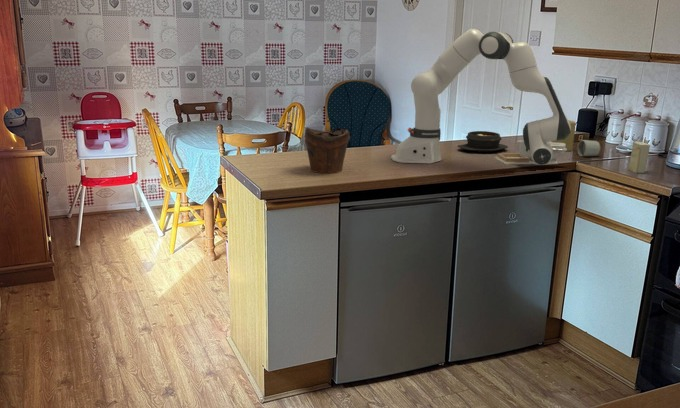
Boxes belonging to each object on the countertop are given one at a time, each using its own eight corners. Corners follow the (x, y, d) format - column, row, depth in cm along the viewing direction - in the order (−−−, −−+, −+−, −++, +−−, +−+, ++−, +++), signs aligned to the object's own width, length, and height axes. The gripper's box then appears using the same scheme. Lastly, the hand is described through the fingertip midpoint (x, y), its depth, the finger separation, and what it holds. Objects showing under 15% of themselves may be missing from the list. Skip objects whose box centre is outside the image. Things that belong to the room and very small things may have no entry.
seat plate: (505, 164, 270) (505, 158, 269) (495, 158, 282) (495, 153, 281) (557, 163, 272) (558, 158, 271) (545, 157, 284) (546, 152, 284)
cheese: (536, 154, 292) (540, 123, 288) (523, 150, 301) (526, 120, 297) (573, 151, 300) (577, 120, 296) (559, 147, 309) (562, 118, 305)
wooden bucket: (359, 169, 256) (359, 126, 251) (324, 177, 242) (324, 132, 238) (330, 163, 268) (330, 122, 263) (295, 170, 255) (294, 127, 250)
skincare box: (628, 169, 263) (632, 141, 259) (638, 169, 263) (642, 141, 259) (636, 173, 256) (640, 144, 253) (646, 173, 257) (650, 144, 253)
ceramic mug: (600, 157, 287) (602, 141, 285) (584, 157, 286) (586, 141, 284) (588, 153, 297) (590, 137, 295) (572, 153, 296) (574, 137, 294)
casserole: (469, 155, 287) (471, 137, 285) (450, 148, 304) (451, 131, 302) (515, 152, 295) (517, 135, 293) (494, 145, 312) (495, 129, 310)
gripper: (568, 143, 256) (566, 138, 269) (517, 140, 262) (517, 135, 274) (566, 158, 258) (564, 152, 271) (516, 155, 263) (516, 149, 276)
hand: (540, 143), depth 273 cm, fingers open, 8 cm apart
